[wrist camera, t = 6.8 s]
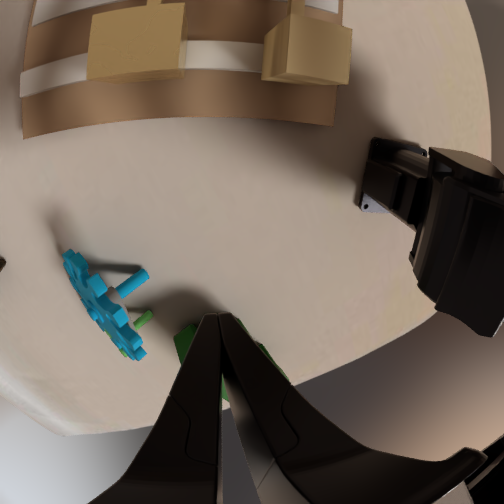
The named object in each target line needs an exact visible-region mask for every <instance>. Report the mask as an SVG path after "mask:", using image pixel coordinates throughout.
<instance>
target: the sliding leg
mask: <svg viewBox="0 0 504 504" xmlns="http://www.w3.org/2000/svg"><path fill="white" fill-rule="evenodd" d="M163 1H164V0H147V5H146V6H138V7H131V8H124V9H119V10H113V11H108V12H103V13H99V14H94V15H93V17H92V23H91V30H90V38H89V47H88V58H87V73H86V80H92V81H99V82H106V83H112V84H124V83H133V82H143V81H154V80H170V79H184V77H185V62H186V49H187V38H188V24H187V16H186V9H185V3H168V4H163Z"/></svg>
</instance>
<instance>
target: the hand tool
mask: <svg viewBox="0 0 504 504" xmlns="http://www.w3.org/2000/svg"><path fill="white" fill-rule="evenodd" d="M5 264H6V261H4V260H0V272H1V270H2V269H3V267H4V266H5Z"/></svg>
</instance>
